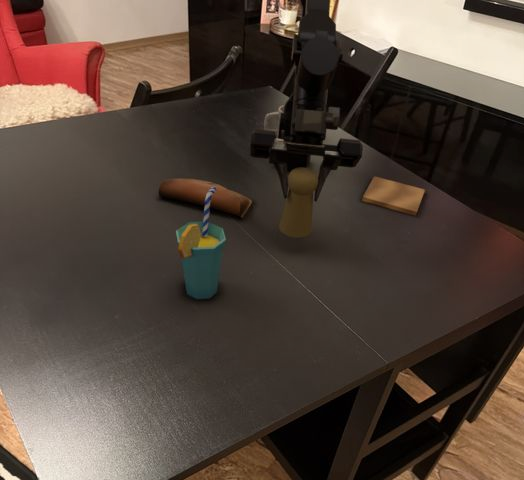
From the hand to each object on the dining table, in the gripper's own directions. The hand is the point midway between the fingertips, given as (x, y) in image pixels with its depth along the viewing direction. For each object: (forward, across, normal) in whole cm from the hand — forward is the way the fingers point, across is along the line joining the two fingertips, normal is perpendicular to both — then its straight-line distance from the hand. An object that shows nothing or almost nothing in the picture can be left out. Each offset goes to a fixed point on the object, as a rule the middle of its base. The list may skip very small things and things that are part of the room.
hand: (300, 199), depth 82 cm
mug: (-28, -3, +44) cm, 52 cm away
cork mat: (-10, +23, +25) cm, 35 cm away
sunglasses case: (-3, -18, +18) cm, 26 cm away
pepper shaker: (+4, 0, +6) cm, 7 cm away
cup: (+17, -15, -2) cm, 23 cm away
